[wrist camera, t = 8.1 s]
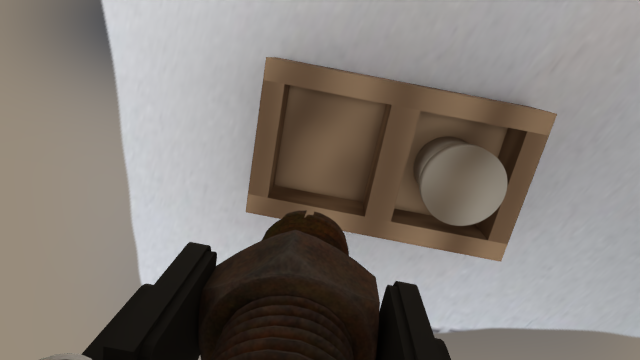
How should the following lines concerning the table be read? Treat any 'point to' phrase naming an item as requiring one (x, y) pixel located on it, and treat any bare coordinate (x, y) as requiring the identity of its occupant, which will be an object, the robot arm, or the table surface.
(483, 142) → the wooden divided tray
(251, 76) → the table surface
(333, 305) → the bolt
